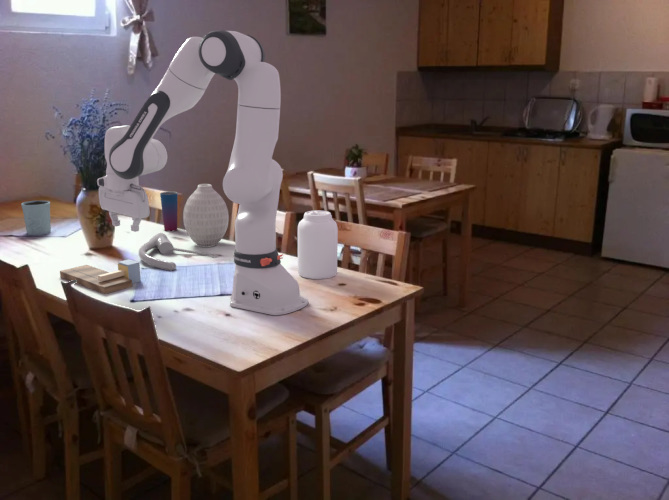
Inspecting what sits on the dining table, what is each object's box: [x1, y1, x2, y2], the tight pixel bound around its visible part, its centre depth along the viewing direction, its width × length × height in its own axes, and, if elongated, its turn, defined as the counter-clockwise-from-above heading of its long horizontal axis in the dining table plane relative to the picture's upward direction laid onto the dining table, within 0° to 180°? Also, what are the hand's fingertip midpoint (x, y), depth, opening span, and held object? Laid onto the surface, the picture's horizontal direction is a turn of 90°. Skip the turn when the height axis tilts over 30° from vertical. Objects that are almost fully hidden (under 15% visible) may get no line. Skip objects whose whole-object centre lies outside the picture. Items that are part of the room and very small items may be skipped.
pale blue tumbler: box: [20, 200, 52, 236], centre depth 250 cm, size 10×10×12 cm
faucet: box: [138, 232, 220, 271], centre depth 219 cm, size 5×28×28 cm
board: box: [59, 264, 133, 295], centre depth 193 cm, size 24×9×2 cm, turn 51°
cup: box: [159, 191, 179, 232], centre depth 257 cm, size 7×7×15 cm
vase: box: [182, 183, 229, 248], centre depth 234 cm, size 16×16×22 cm
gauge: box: [98, 258, 141, 284], centre depth 191 cm, size 5×12×6 cm, turn 141°
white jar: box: [297, 209, 339, 280], centre depth 201 cm, size 12×12×20 cm
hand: (125, 228), depth 190 cm, fingers open, 8 cm apart
